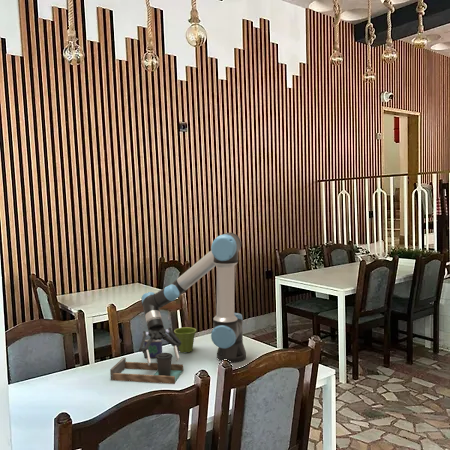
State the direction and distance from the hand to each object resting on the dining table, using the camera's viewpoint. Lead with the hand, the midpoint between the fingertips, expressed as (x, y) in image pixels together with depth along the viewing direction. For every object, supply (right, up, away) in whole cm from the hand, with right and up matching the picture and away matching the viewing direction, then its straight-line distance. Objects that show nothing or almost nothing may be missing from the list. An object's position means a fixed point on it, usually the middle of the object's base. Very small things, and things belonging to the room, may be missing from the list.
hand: (164, 361), depth 229 cm
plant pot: (+7, -5, +37) cm, 38 cm away
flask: (-9, -5, +27) cm, 29 cm away
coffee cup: (0, -7, +2) cm, 7 cm away
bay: (-8, -7, +3) cm, 11 cm away
